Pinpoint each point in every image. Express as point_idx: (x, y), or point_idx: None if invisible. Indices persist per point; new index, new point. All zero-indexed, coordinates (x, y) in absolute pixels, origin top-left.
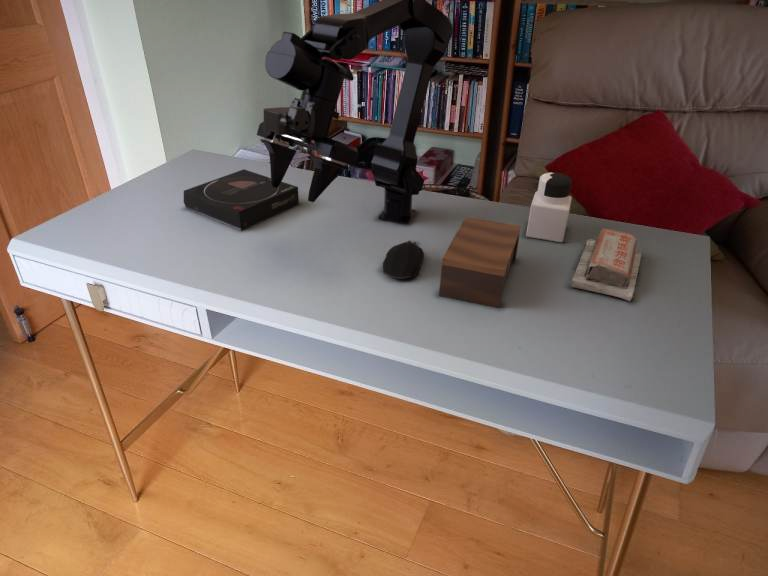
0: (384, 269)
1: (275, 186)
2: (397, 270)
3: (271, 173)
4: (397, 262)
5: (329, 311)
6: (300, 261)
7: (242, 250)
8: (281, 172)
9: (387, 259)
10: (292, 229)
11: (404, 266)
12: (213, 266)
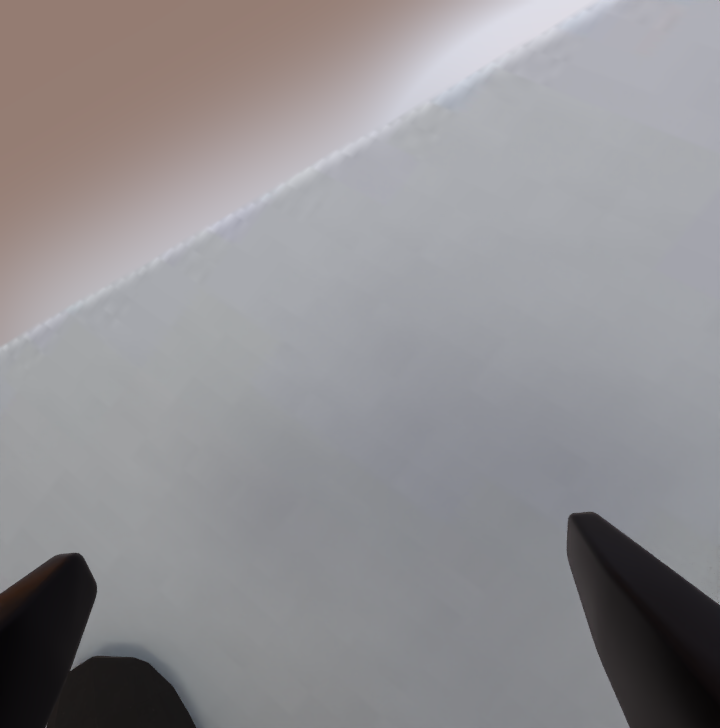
0: (129, 668)
1: (572, 543)
2: (75, 691)
3: (682, 592)
4: (79, 724)
5: (90, 365)
6: (417, 486)
7: (650, 353)
8: (650, 720)
9: (123, 714)
10: None
11: (57, 725)
12: (596, 195)
